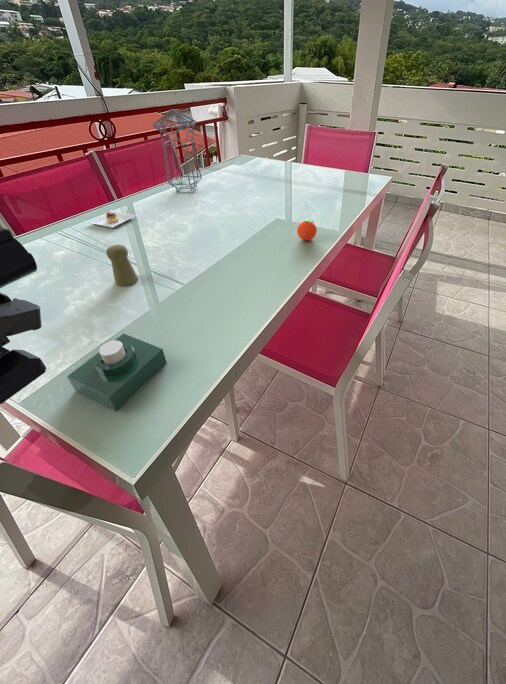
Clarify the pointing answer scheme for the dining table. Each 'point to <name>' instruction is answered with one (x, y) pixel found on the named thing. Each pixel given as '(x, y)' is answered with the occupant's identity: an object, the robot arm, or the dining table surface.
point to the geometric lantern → (178, 115)
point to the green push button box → (118, 373)
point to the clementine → (306, 230)
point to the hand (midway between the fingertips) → (7, 397)
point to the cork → (121, 266)
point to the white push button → (112, 352)
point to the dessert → (112, 219)
